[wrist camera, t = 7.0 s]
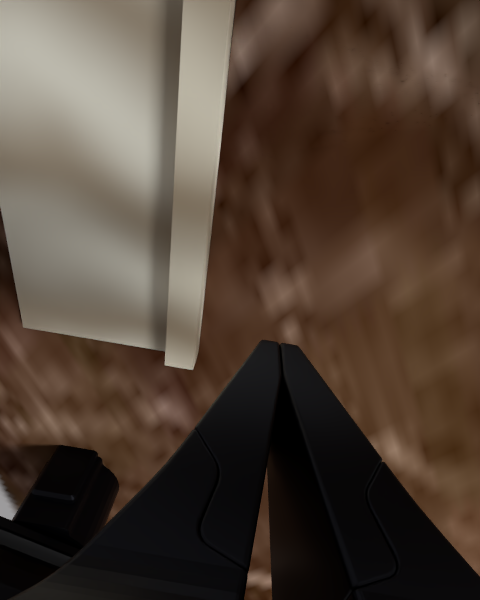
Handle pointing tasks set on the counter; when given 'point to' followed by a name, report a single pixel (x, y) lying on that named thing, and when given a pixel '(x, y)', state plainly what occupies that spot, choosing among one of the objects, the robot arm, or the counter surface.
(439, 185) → the counter surface
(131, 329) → the board
